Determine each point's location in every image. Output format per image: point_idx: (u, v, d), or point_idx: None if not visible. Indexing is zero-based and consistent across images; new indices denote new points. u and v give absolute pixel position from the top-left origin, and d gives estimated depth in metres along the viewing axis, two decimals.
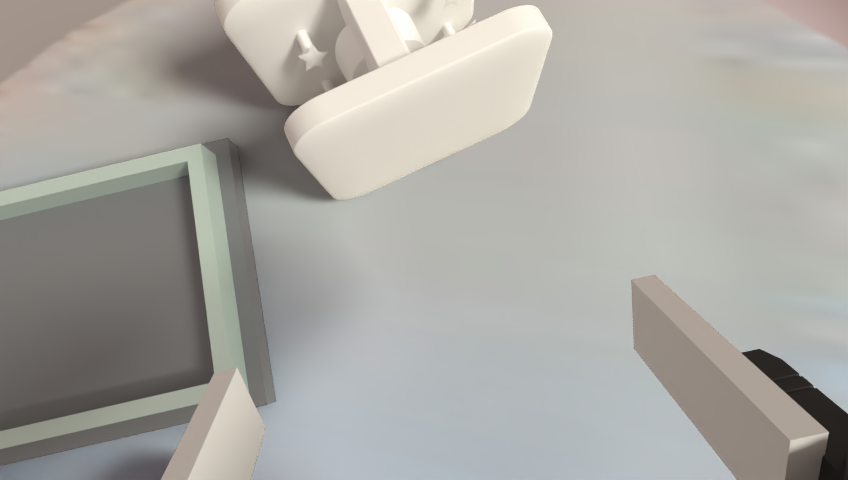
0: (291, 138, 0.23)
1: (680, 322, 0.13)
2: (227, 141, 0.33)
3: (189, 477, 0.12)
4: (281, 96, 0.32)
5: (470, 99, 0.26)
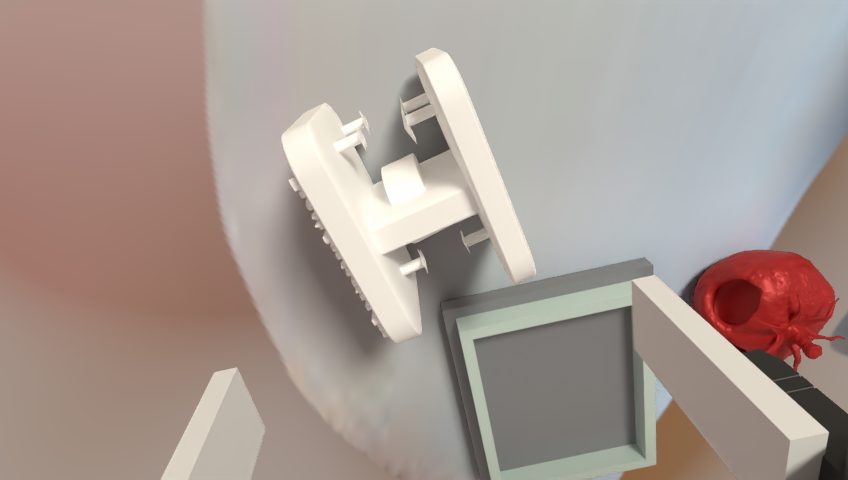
0: (528, 278, 0.29)
1: (680, 322, 0.13)
2: (444, 311, 0.40)
3: (189, 477, 0.12)
4: (415, 275, 0.37)
5: None
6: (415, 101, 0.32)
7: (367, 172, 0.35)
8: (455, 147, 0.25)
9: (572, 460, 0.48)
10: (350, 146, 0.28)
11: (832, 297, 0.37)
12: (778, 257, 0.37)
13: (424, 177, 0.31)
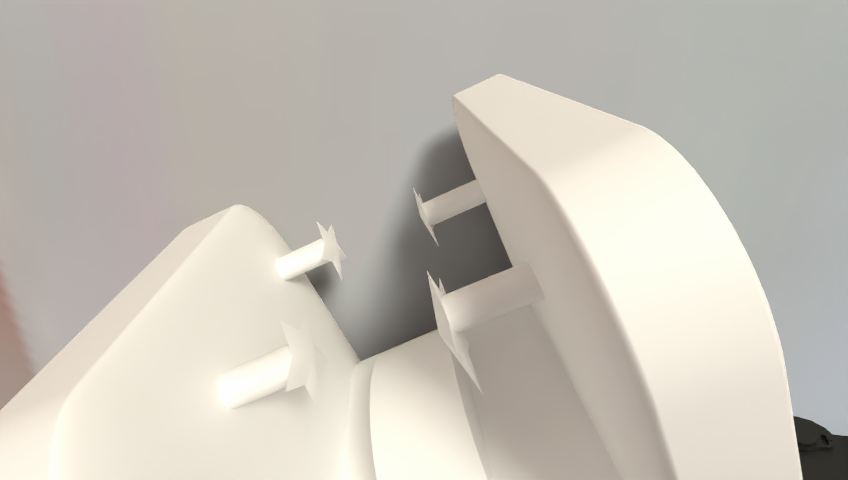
0: None
1: None
2: None
3: None
4: None
5: None
6: (453, 202, 0.13)
7: (342, 338, 0.16)
8: None
9: None
10: (270, 393, 0.09)
11: None
12: None
13: (482, 413, 0.12)
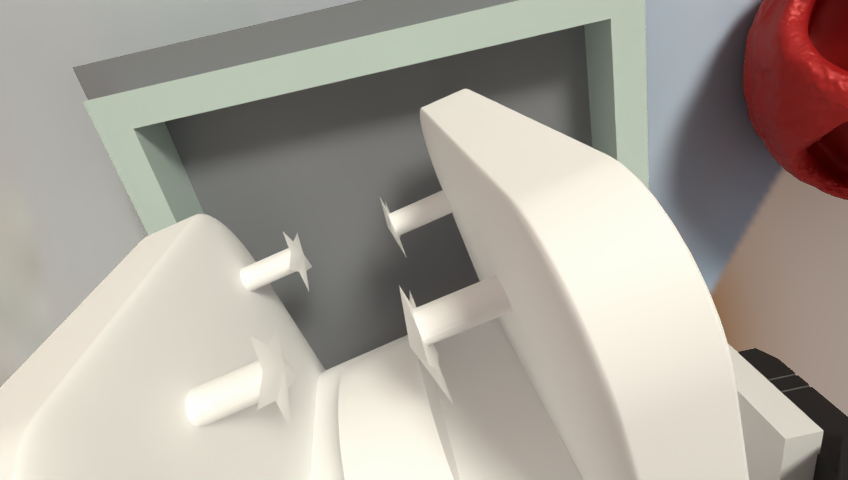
0: None
1: None
2: (80, 67, 0.15)
3: None
4: None
5: None
6: (420, 213, 0.14)
7: (306, 347, 0.16)
8: None
9: None
10: (239, 409, 0.09)
11: None
12: None
13: (449, 421, 0.12)
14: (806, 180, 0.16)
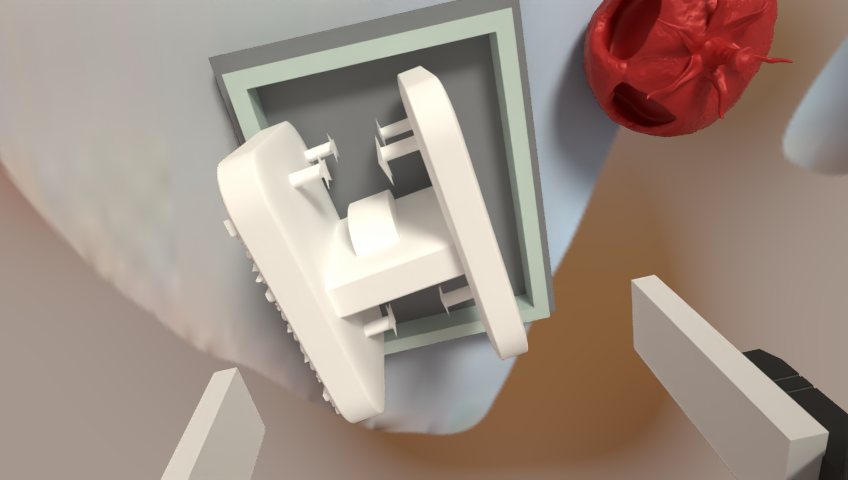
0: (518, 354, 0.24)
1: (680, 322, 0.13)
2: (212, 58, 0.27)
3: (189, 477, 0.12)
4: None
5: None
6: (395, 127, 0.27)
7: (333, 205, 0.30)
8: (440, 196, 0.20)
9: (438, 317, 0.35)
10: (309, 180, 0.22)
11: None
12: None
13: (400, 221, 0.25)
14: (617, 121, 0.29)
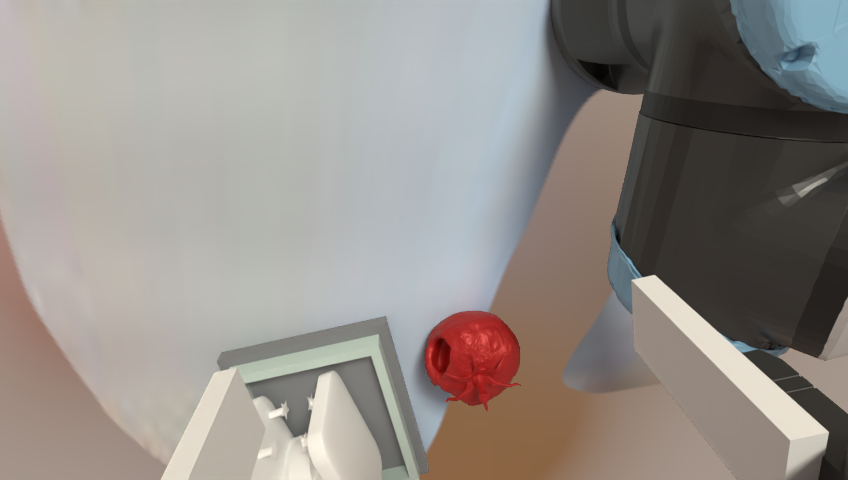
0: None
1: (680, 322, 0.13)
2: (219, 361, 0.50)
3: (189, 477, 0.12)
4: None
5: (347, 446, 0.45)
6: None
7: (287, 430, 0.52)
8: None
9: None
10: (267, 456, 0.45)
11: (510, 352, 0.47)
12: (470, 320, 0.47)
13: None
14: None
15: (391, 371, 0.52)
